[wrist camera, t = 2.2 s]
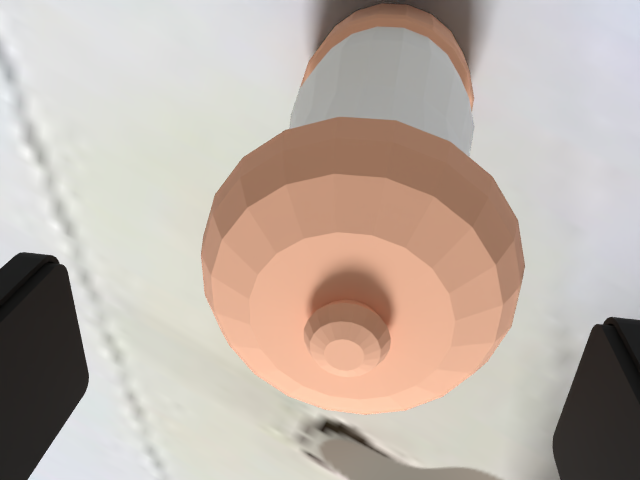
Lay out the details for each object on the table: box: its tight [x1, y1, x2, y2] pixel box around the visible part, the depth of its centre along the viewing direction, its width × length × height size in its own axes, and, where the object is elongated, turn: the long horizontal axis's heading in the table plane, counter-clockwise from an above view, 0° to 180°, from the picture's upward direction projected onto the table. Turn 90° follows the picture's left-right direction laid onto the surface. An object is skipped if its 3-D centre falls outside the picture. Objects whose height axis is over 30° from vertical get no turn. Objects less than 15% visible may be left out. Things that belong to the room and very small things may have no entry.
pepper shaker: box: [201, 3, 525, 415], centre depth 18 cm, size 7×7×19 cm
